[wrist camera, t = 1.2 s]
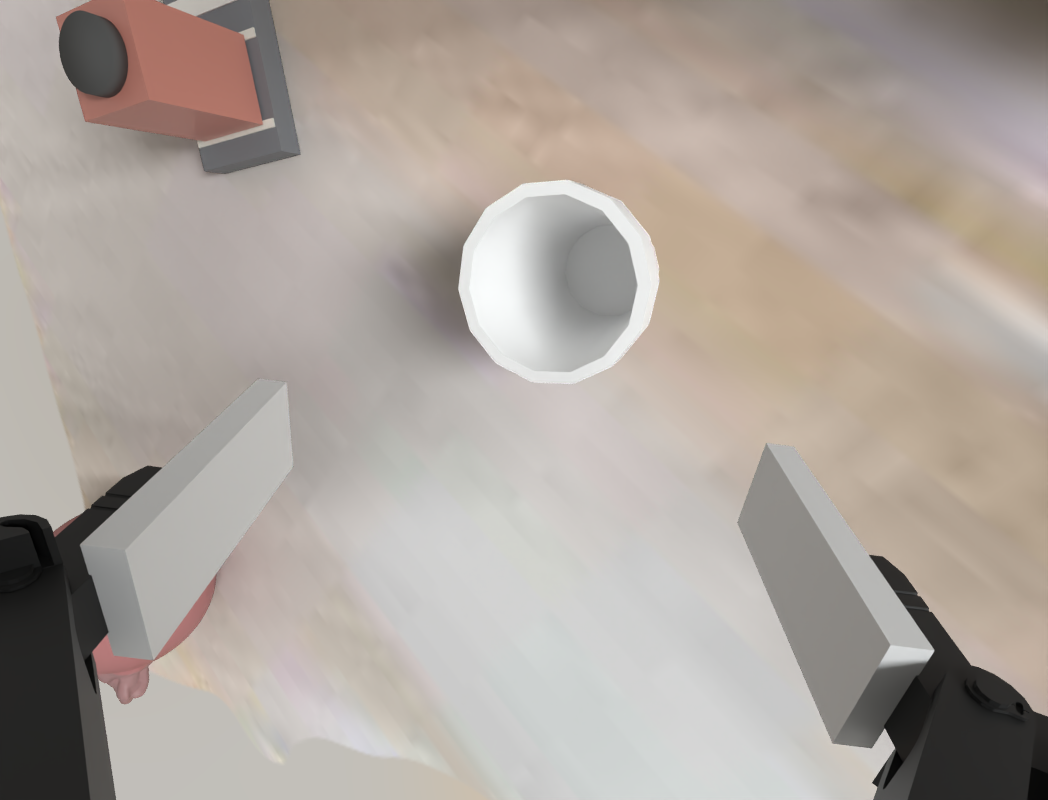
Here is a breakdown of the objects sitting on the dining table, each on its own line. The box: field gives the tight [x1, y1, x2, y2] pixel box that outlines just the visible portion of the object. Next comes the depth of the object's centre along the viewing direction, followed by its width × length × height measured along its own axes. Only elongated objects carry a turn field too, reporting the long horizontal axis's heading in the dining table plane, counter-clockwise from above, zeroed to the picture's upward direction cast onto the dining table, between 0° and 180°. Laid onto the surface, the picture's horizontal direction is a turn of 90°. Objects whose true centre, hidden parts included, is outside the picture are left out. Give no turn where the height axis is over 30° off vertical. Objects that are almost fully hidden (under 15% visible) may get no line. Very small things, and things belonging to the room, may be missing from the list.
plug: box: [56, 0, 263, 141], centre depth 39 cm, size 6×6×10 cm
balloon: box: [53, 514, 216, 704], centre depth 56 cm, size 15×20×15 cm
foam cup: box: [458, 180, 659, 384], centre depth 33 cm, size 10×9×13 cm
